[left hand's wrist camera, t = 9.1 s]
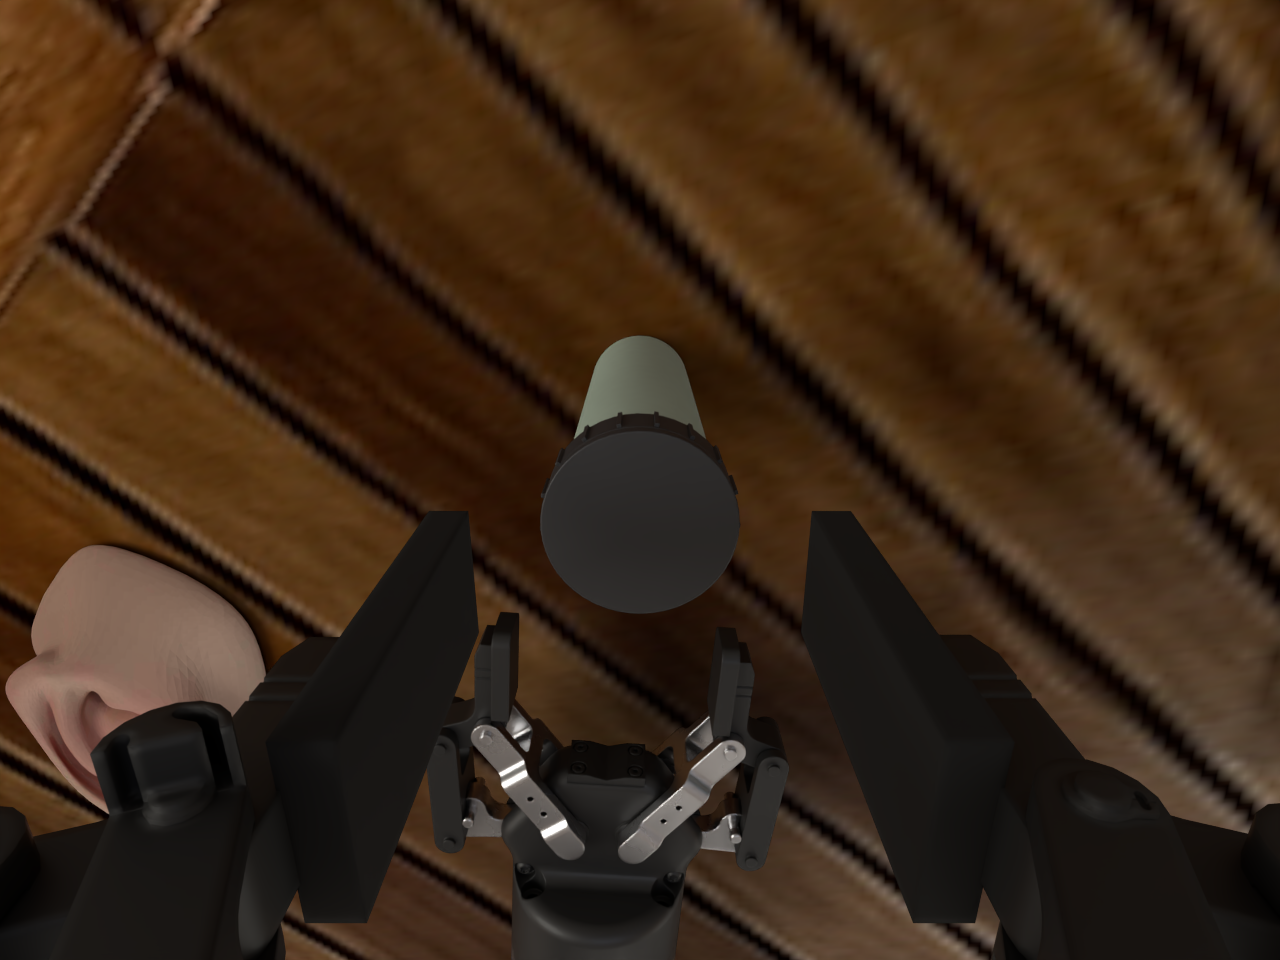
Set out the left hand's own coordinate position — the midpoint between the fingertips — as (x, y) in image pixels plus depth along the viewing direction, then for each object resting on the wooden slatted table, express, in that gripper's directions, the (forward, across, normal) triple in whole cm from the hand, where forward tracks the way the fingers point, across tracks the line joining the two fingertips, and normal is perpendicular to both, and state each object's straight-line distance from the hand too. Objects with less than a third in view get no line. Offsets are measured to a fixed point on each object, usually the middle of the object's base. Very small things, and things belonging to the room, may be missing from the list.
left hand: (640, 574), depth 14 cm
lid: (+3, 0, 0) cm, 3 cm away
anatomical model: (+17, +24, +14) cm, 33 cm away
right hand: (+11, +1, +8) cm, 14 cm away
